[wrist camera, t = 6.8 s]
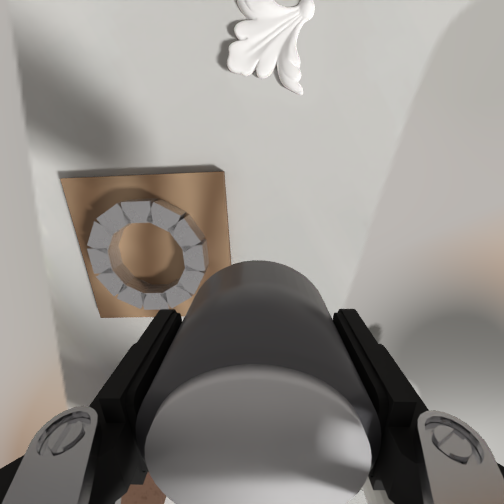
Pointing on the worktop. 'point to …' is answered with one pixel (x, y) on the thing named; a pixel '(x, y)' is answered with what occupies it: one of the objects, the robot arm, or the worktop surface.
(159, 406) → the cap
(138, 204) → the grey segmented ring
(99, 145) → the worktop surface
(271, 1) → the acanthus leaf ornament
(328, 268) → the worktop surface
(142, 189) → the board
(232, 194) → the worktop surface
